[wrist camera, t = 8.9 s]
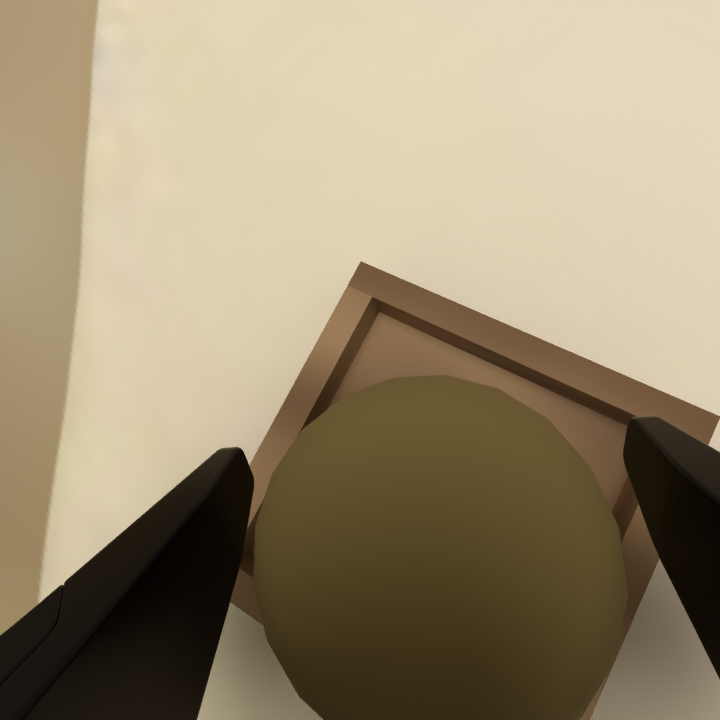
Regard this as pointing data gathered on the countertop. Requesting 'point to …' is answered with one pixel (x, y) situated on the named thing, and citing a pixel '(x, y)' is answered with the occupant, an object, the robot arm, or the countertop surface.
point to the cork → (439, 560)
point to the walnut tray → (481, 365)
